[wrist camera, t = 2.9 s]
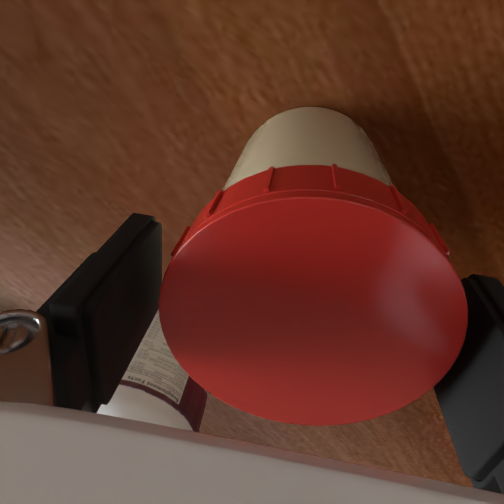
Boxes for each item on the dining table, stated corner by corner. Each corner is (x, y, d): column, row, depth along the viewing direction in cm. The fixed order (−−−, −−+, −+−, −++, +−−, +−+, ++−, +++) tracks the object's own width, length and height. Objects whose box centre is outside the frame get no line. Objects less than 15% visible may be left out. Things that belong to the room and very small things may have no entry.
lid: (214, 118, 8) (191, 142, 6) (506, 223, 8) (551, 269, 7) (161, 332, 12) (138, 379, 10) (363, 398, 12) (371, 453, 11)
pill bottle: (213, 362, 25) (151, 578, 15) (125, 333, 24) (5, 535, 15) (240, 297, 21) (183, 520, 12) (138, 262, 21) (-6, 463, 11)
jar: (263, 84, 15) (209, 156, 7) (406, 136, 15) (513, 263, 7) (223, 215, 18) (156, 363, 10) (341, 255, 19) (364, 430, 11)
